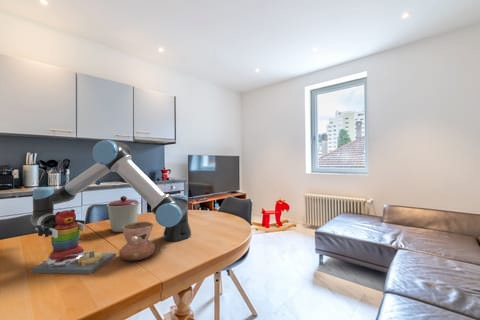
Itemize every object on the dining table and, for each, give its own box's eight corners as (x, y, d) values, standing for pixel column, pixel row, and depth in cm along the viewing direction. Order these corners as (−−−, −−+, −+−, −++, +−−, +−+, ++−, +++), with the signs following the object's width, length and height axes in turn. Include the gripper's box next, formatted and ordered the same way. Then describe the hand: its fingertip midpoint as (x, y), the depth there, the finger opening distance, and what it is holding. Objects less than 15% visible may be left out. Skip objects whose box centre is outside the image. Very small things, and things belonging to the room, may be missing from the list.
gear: (95, 252, 98) (95, 249, 98) (68, 268, 83) (68, 265, 83) (64, 252, 98) (64, 249, 99) (32, 268, 84) (32, 264, 84)
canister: (102, 230, 135) (102, 196, 135) (132, 223, 149) (132, 193, 149) (113, 236, 123) (113, 199, 123) (144, 229, 137) (144, 195, 137)
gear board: (115, 256, 97) (115, 245, 98) (91, 273, 82) (91, 260, 83) (64, 255, 99) (64, 244, 99) (31, 272, 84) (31, 259, 84)
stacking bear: (51, 261, 83) (51, 214, 84) (47, 254, 90) (47, 211, 90) (84, 252, 91) (84, 210, 92) (78, 246, 98) (78, 206, 98)
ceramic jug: (152, 263, 90) (153, 228, 91) (113, 267, 87) (114, 231, 87) (157, 247, 108) (157, 218, 108) (125, 250, 104) (125, 220, 104)
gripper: (77, 225, 110) (99, 232, 97) (18, 237, 92) (35, 249, 79) (77, 210, 110) (99, 216, 97) (18, 220, 92) (35, 228, 79)
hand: (70, 230), depth 88 cm, fingers closed on stacking bear, 9 cm apart
